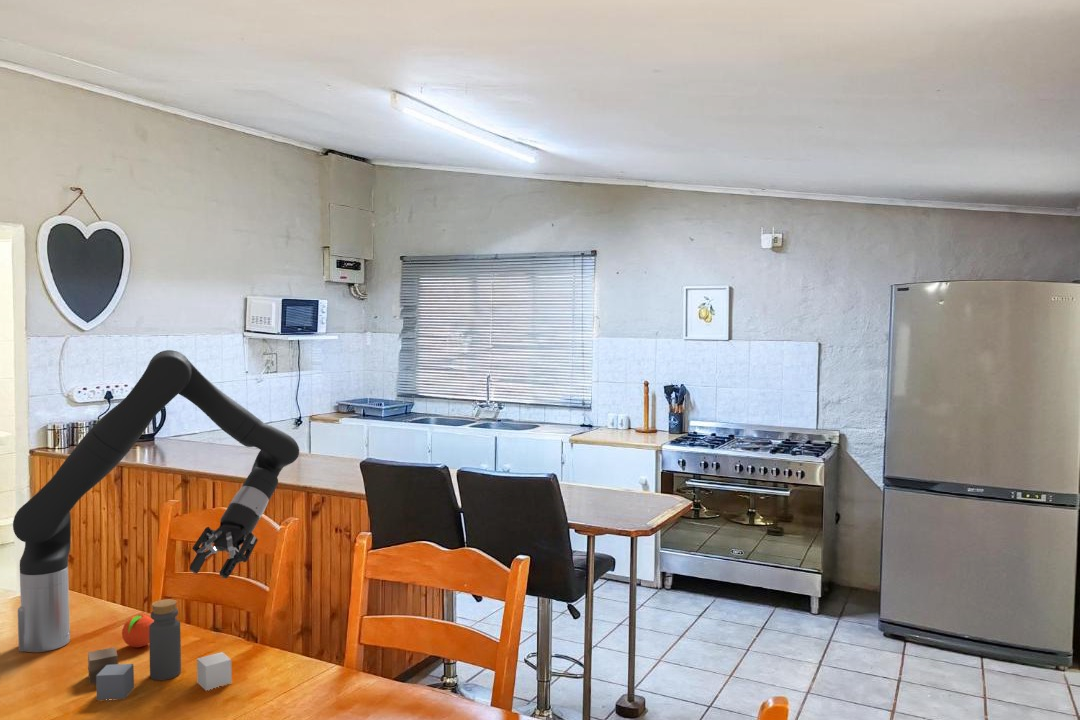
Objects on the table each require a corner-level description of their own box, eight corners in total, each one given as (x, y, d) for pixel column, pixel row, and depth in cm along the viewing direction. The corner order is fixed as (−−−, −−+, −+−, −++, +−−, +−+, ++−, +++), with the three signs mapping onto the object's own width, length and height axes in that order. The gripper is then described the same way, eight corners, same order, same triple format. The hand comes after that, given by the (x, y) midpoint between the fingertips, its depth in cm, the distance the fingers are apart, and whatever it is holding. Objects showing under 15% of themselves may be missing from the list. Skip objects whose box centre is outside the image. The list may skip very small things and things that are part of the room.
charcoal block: (96, 701, 158) (96, 675, 157) (107, 689, 163) (106, 664, 162) (124, 700, 158) (123, 674, 158) (133, 688, 163) (133, 663, 163)
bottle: (169, 681, 166) (167, 608, 165) (143, 679, 167) (142, 606, 166) (187, 669, 172) (185, 599, 171) (162, 667, 173) (160, 597, 172)
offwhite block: (206, 691, 162) (205, 666, 162) (197, 682, 166) (197, 658, 165) (231, 683, 165) (231, 659, 165) (222, 675, 169) (222, 651, 169)
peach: (144, 654, 179) (144, 622, 179) (113, 654, 179) (112, 622, 179) (162, 640, 187) (161, 609, 187) (132, 640, 187) (131, 609, 187)
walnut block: (90, 685, 164) (89, 660, 164) (88, 676, 169) (88, 652, 168) (118, 679, 167) (117, 655, 167) (116, 670, 171) (115, 647, 171)
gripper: (212, 498, 189) (173, 561, 179) (261, 504, 184) (223, 569, 174) (230, 516, 194) (193, 578, 185) (277, 522, 189) (242, 586, 179)
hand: (207, 574), depth 179 cm, fingers open, 8 cm apart
